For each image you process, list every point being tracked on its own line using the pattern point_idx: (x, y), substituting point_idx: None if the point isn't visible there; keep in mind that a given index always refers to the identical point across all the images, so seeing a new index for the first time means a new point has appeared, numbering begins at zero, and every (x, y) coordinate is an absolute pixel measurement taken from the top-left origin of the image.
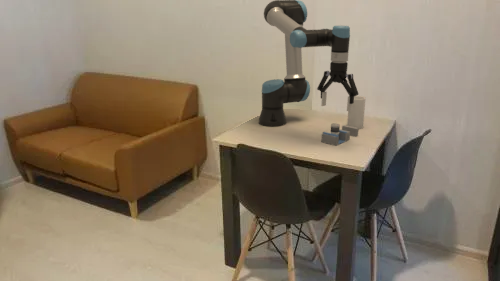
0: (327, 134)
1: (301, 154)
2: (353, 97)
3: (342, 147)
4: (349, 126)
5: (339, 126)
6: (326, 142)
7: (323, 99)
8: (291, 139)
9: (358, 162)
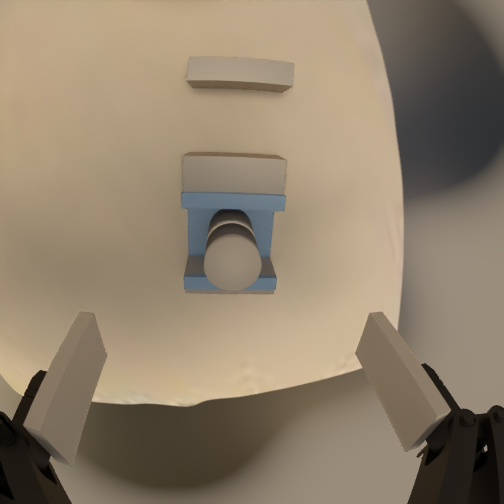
0: (214, 286)
1: (220, 393)
2: (452, 412)
3: (299, 274)
4: (231, 63)
5: (259, 254)
6: None
7: (87, 398)
8: None
9: None
